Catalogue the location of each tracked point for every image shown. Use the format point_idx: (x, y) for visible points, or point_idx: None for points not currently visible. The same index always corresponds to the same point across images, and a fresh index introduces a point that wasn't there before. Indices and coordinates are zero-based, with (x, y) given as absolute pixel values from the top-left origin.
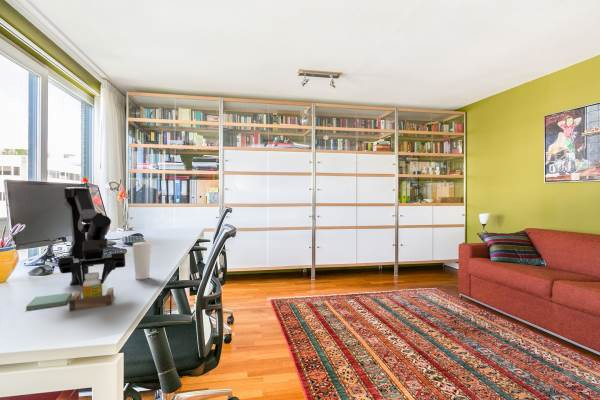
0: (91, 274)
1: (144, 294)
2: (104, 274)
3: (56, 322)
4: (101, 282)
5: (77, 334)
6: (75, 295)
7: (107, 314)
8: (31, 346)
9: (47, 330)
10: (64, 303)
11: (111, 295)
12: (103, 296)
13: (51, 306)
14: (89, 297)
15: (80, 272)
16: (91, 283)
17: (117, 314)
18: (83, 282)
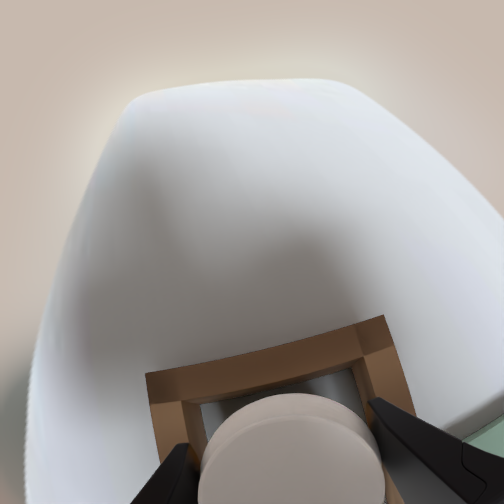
0: (281, 458)
1: (53, 492)
2: (143, 496)
3: (341, 201)
4: (190, 444)
5: (216, 116)
6: None
7: (159, 244)
8: (299, 85)
9: (325, 145)
10: None
11: (156, 418)
12: (187, 371)
13: (495, 420)
14: (282, 378)
15: (453, 476)
16: (269, 400)
17: (123, 236)
18: (364, 430)
